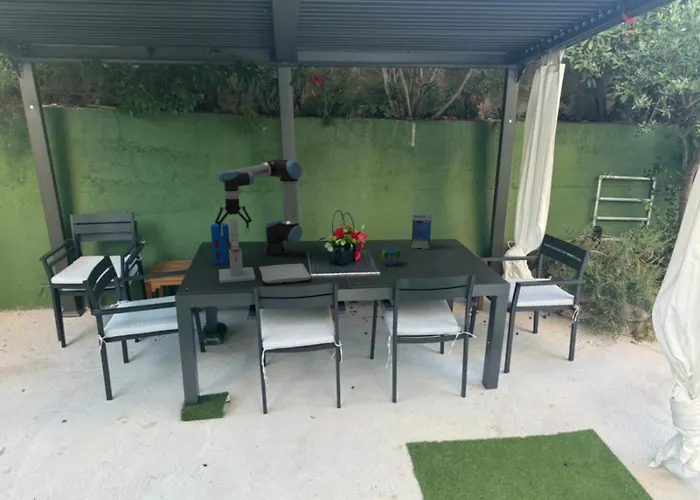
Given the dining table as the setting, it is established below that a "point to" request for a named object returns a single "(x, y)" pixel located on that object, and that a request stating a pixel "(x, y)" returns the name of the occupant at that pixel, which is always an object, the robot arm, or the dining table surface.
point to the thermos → (220, 244)
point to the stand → (236, 269)
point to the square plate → (284, 273)
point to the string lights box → (421, 230)
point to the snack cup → (390, 255)
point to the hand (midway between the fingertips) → (234, 234)
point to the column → (234, 235)
